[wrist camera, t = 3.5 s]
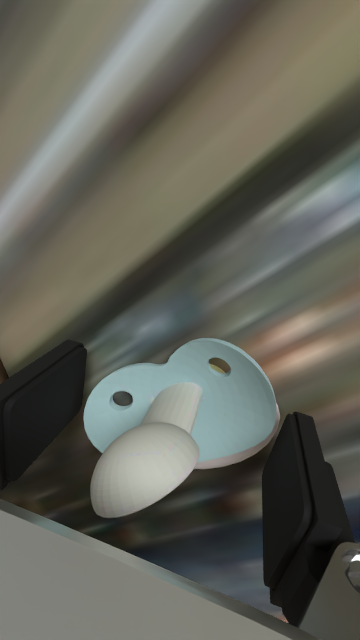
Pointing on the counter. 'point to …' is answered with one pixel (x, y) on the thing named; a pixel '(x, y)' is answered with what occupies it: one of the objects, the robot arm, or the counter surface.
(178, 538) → the counter surface
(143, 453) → the pacifier
